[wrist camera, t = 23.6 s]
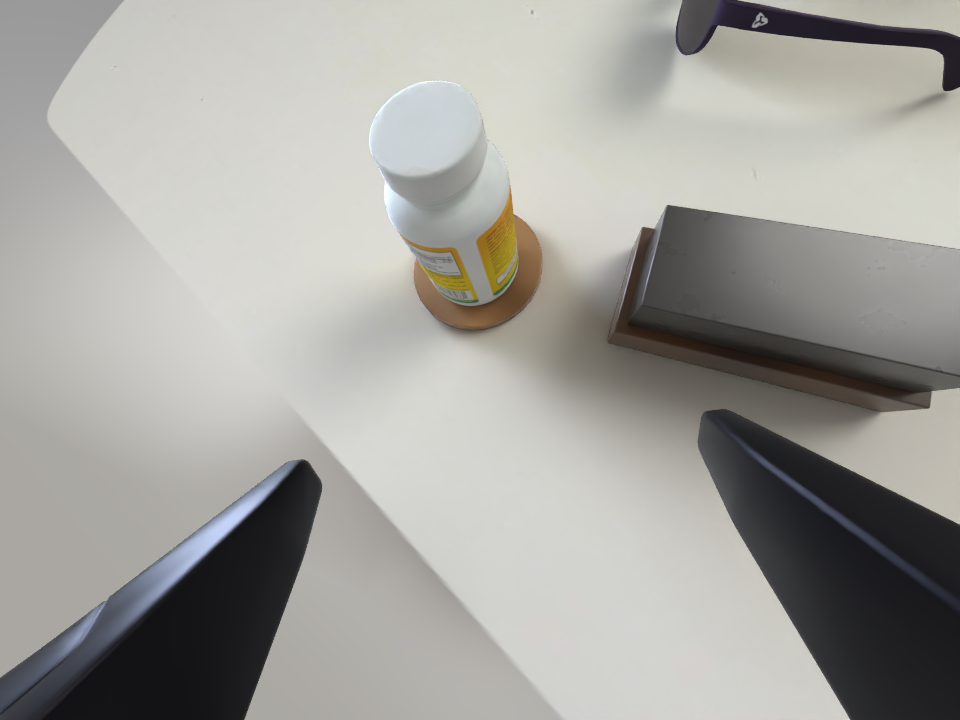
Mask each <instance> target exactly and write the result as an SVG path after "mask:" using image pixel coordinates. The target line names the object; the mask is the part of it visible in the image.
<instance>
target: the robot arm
mask: <svg viewBox="0 0 960 720" xmlns="http://www.w3.org/2000/svg"><path fill="white" fill-rule="evenodd" d="M698 447H699V450H700V453H701V455H702V457H703V459H704V462H705V464H706V466H707V468H708V470H709V472H710V475H711V477H712V479H713V481H714V483H715V485H716V488H717V490H718V492H719V494H720V496H721V498H722V500H723V503H724V505H725V507H726V509H727V511H728V513H729V515H730V517H731V519H732V521H733V523H734V525H735V527H736V529H737V530H738V532H739V534H740V536H741V537H742V539H743V541H744V542H745V544H746V546H747V547H748V549H749V551H750V552H751V554H752V556H753V557H754V559H755V561H756V562H757V564H758V566H759V567H760V569H761V571H762V572H763V574H764V576H765V577H766V579H767V581H768V582H769V584H770V586H771V587H772V589H773V591H774V593H775V594H776V596H777V598H778V599H779V601H780V603H781V604H782V606H783V608H784V609H785V611H786V613H787V614H788V616H789V618H790V619H791V621H792V623H793V624H794V626H795V628H796V629H797V631H798V633H799V634H800V636H801V638H802V639H803V641H804V643H805V644H806V646H807V648H808V649H809V651H810V653H811V654H812V656H813V658H814V659H815V661H816V663H817V665H818V666H819V668H820V670H821V671H822V673H823V675H824V676H825V678H826V680H827V681H828V683H829V685H830V686H831V688H832V690H833V691H834V693H835V695H836V696H837V698H838V700H839V701H840V703H841V705H842V706H843V708H844V710H845V711H846V713H847V715H848V716H849V718H850V720H960V525H959V524H957V523H955V522H953V521H951V520H949V519H947V518H945V517H943V516H941V515H939V514H937V513H935V512H933V511H931V510H929V509H927V508H925V507H923V506H921V505H919V504H917V503H915V502H913V501H911V500H909V499H907V498H905V497H903V496H901V495H899V494H897V493H895V492H893V491H891V490H889V489H887V488H885V487H883V486H881V485H879V484H877V483H875V482H873V481H871V480H869V479H867V478H865V477H863V476H861V475H859V474H857V473H855V472H853V471H851V470H849V469H847V468H845V467H843V466H841V465H839V464H837V463H835V462H833V461H830V460H828V459H826V458H824V457H822V456H820V455H818V454H816V453H814V452H812V451H810V450H808V449H806V448H804V447H802V446H800V445H798V444H796V443H794V442H792V441H790V440H788V439H786V438H784V437H782V436H780V435H778V434H776V433H774V432H772V431H770V430H768V429H766V428H764V427H762V426H760V425H758V424H756V423H754V422H752V421H750V420H748V419H746V418H744V417H742V416H740V415H738V414H736V413H734V412H732V411H729V410H726V409H720V410H712V411H706V412H704V413H703V414H702V417H701V423H700V429H699V435H698ZM321 492H322V483H321V480H320V478H319V477H318V476H317V474H316V473H315V471H314V470H313V468H312V467H311V465H310V463H309V462H308V461H306V460H303V459H302V460H293V461H289V462H287V463H285V464H284V465H282V466H281V467H280V468H278V469H277V470H276V471H274V472H273V473H272V474H271V475H269V476H268V477H267V478H266V479H264V480H263V481H262V482H260V483H259V484H257V485H256V486H255V487H254V488H252V489H251V490H250V491H248V492H247V493H246V494H244V495H243V496H242V497H240V498H239V499H238V500H237V501H235V502H234V503H232V504H231V505H230V506H229V507H227V508H226V509H225V510H223V511H222V512H221V513H219V514H218V515H217V516H216V517H214V518H213V519H211V520H210V521H209V522H208V523H206V524H205V525H203V526H202V527H201V528H199V529H198V530H197V531H196V532H194V533H193V534H192V535H190V536H189V537H188V538H187V539H185V540H184V541H182V542H181V543H180V544H178V545H177V546H176V547H174V548H173V549H172V550H171V551H169V552H168V553H167V554H165V555H164V556H163V557H161V558H160V559H159V560H157V561H156V562H155V563H153V564H152V565H151V566H149V567H148V568H147V569H146V570H144V571H143V572H142V573H140V574H139V575H138V576H136V577H135V578H134V579H133V580H131V581H130V582H128V583H127V584H126V585H125V586H123V587H122V588H121V589H119V590H118V591H117V592H115V593H114V594H113V595H111V596H110V597H109V598H108V600H107V601H104V602H102V603H101V604H99V605H98V606H97V607H95V608H94V609H93V610H91V611H90V612H89V613H88V614H86V615H85V616H84V617H82V618H81V619H80V620H78V621H77V622H76V623H74V624H73V625H72V626H70V627H69V628H68V629H66V630H65V631H64V632H62V633H61V634H60V635H58V636H57V637H56V638H54V639H53V640H52V641H50V642H49V643H47V644H46V645H45V646H43V647H42V648H41V649H39V650H38V651H37V652H35V653H34V654H33V655H31V656H30V657H28V658H27V659H26V660H24V661H23V662H22V663H20V664H19V665H17V666H16V667H15V668H13V669H12V670H10V671H9V672H8V673H6V674H5V675H3V676H2V677H1V678H0V720H244V719H245V716H246V713H247V711H248V708H249V705H250V703H251V700H252V697H253V694H254V692H255V689H256V686H257V683H258V681H259V678H260V675H261V673H262V670H263V667H264V664H265V661H266V659H267V656H268V654H269V651H270V648H271V645H272V643H273V640H274V637H275V634H276V632H277V629H278V626H279V624H280V621H281V618H282V615H283V613H284V610H285V607H286V604H287V602H288V598H289V596H290V593H291V591H292V588H293V585H294V583H295V580H296V577H297V574H298V572H299V569H300V566H301V563H302V560H303V557H304V554H305V551H306V548H307V544H308V541H309V537H310V533H311V530H312V525H313V522H314V518H315V515H316V511H317V507H318V503H319V500H320V496H321Z"/></svg>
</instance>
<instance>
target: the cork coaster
mask: <svg viewBox="0 0 960 720" xmlns="http://www.w3.org/2000/svg"><path fill="white" fill-rule="evenodd" d="M513 215H514V214H513ZM514 224H515V232H516V239H517V248H518V268H517V272H516V275H515V277H514V279H513V281H512V283H511V284H510V286H509V287H508V288H507V289H506V291H505V292H504V293H503V294H502V295H501V296H499V297H498V298H496V299H494V300H493V301H491V302H488V303H485V304H482V305H476V306H465V305H460V304H457V303H454V302H452V301H450V300H448V299H447V298H445V297H444V296H443V295H442V294H441V293H440V292H439V291H438V290H437V288H436V287H435V286H434V284H433V283H432V281H431V280H430V278H429V277H428V275H427V274H426V272H425V271H424V269H423V268H422V267H421V265H420V264H419V262H418V261H417V259H415V263H414V283H415V287H416V290H417V293H418V295H419V297H420V299H421V301H422V303H423V304H424V305H425V307H426V308H427V309H428V310H429V311H430V312H431V313H432V314H433V315H434V316H435V317H436V318H438V319H439V320H441V321H442V322H444V323H446V324H448V325H451V326H453V327H457V328H461V329H468V330H479V329H486V328H490V327H494V326H497V325H499V324H502V323H504V322H506V321H508V320H510V319H511V318H513V317H514V316H515V315H517V314H518V313H519V312H520V311H521V310H523V309H524V308H525V307H526V305H527V304H528V303H529V302H530V301H531V299H532V297H533V296H534V294H535V292H536V290H537V288H538V286H539V283H540V279H541V274H542V253H541V248H540V244H539V242H538V239H537V237H536V235H535V234H534V232H533V231H532V229H531V228H530V227H529V226H528V225H527V224H526V223H525V222H524V221H523V220H522V219H520V218H519V217H517V216H516V215H514Z"/></svg>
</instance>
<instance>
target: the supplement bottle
mask: <svg viewBox="0 0 960 720" xmlns="http://www.w3.org/2000/svg"><path fill="white" fill-rule="evenodd" d="M369 144H370V150H371V154H372V156H373V159H374V161H375V163H376V164H377V166H378V168H379V170H380V171H381V173H382V175H383V178H384V180H385V181H386V183H385V191H384V198H385V205H386V209H387V213H388V215H389V218H390V220H391V221H392V223H393V225H394V227H395V228H396V230H397V231H398V233H399V234H400V236H401V237H402V239H403V240H404V241H405V243H406V244H407V246H408V247H409V249H410V250H411V252H412V253H413V255H414V256H415V258H416V259H417V261H418V262H419V264H420V265H421V267H422V268H423V269H424V271H425V272H426V274H427V275H428V277H429V278H430V280H431V281H432V283H433V284H434V286H435V287H436V288H437V290H438V291H439V292H440V293H441V294H442V295H443V296H444V297H445V298H447V299H448V300H450V301H452V302H454V303H457V304H460V305H465V306H476V305H482V304H485V303H488V302H491V301H493V300H494V299H496V298H498V297H499V296H501V295H502V294H503V293H504V292H505V291H506V289H507V288H508V287H509V286H510V284H511V283H512V281H513V279H514V277H515V275H516V272H517V268H518V248H517V239H516V232H515V224H514V215H513V206H512V196H511V188H510V180H509V173H508V169H507V165H506V163H505V160H504V158H503V156H502V155H501V153H500V152H499V150H498V149H497V148H496V147H495V145H494V144H493V143H492V142H490V141H489V140H488V139H487V137H486V132H485V129H484V124H483V120H482V115H481V111H480V108H479V106H478V103H477V101H476V100H475V98H474V97H473V96H472V94H471V93H469V92H468V91H467V90H466V89H464V88H463V87H461V86H459V85H458V84H455V83H452V82H448V81H439V80H436V81H426V82H421V83H417V84H414V85H412V86H410V87H407V88H405V89H403V90H402V91H400V92H399V93H397V94H396V95H394V96H393V97H392V98H391V99H389V100H388V101H387V102H386V103H385V105H384V106H383V107H382V108H381V109H380V111H379V112H378V114H377V115H376V117H375V119H374V121H373V124H372V127H371V130H370V136H369Z"/></svg>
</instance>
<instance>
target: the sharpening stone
mask: <svg viewBox="0 0 960 720" xmlns="http://www.w3.org/2000/svg"><path fill="white" fill-rule="evenodd" d="M607 342H608V343H612V344H616V345H620V346H624V347H628V348H632V349H636V350H640V351H644V352H648V353H652V354H656V355H660V356H664V357H668V358H671V359H675V360H679V361H683V362H687V363H691V364H695V365H699V366H703V367H707V368H711V369H715V370H719V371H723V372H727V373H731V374H735V375H739V376H743V377H747V378H751V379H755V380H758V381H762V382H766V383H770V384H774V385H778V386H782V387H786V388H790V389H794V390H798V391H802V392H806V393H810V394H814V395H818V396H822V397H826V398H830V399H834V400H838V401H841V402H845V403H849V404H853V405H857V406H861V407H865V408H869V409H873V410H877V411H881V412H890V411H903V410H915V409H927V408H930V401H931V391H938V390H946V389H954V388H960V249H954V248H947V247H941V246H934V245H928V244H921V243H915V242H908V241H901V240H895V239H888V238H882V237H875V236H868V235H862V234H855V233H849V232H842V231H835V230H829V229H822V228H816V227H809V226H803V225H796V224H789V223H783V222H776V221H770V220H763V219H756V218H750V217H743V216H737V215H730V214H724V213H717V212H710V211H704V210H697V209H691V208H684V207H677V206H671V205H667V206H666V208H665V210H664V212H663V213H662V215H661V217H660V219H659V221H658V223H657V225H656V227H655V229H652V228H646V227H642V229H641V231H640V233H639V235H638V237H637V239H636V242H635V244H634V246H633V248H632V252H631V256H630V259H629V263H628V267H627V270H626V274H625V278H624V281H623V285H622V289H621V292H620V296H619V300H618V303H617V307H616V311H615V314H614V318H613V322H612V325H611V329H610V333H609V336H608V340H607Z"/></svg>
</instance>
